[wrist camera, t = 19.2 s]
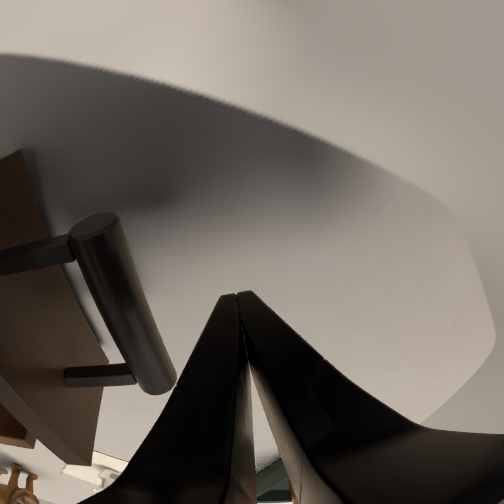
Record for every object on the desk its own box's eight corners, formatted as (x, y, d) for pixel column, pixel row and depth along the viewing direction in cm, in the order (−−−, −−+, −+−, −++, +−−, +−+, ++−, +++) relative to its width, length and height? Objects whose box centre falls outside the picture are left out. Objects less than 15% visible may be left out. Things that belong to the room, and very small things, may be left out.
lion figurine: (27, 460, 22) (16, 529, 14) (59, 480, 25) (52, 544, 17) (-33, 451, 22) (-45, 503, 14) (-6, 470, 25) (-15, 520, 17)
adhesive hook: (128, 472, 23) (127, 500, 20) (119, 478, 24) (118, 504, 21) (98, 463, 22) (95, 492, 19) (91, 469, 22) (88, 496, 20)
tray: (317, 430, 22) (324, 452, 20) (387, 432, 25) (395, 449, 23) (237, 485, 27) (240, 502, 25) (306, 486, 30) (310, 500, 28)
